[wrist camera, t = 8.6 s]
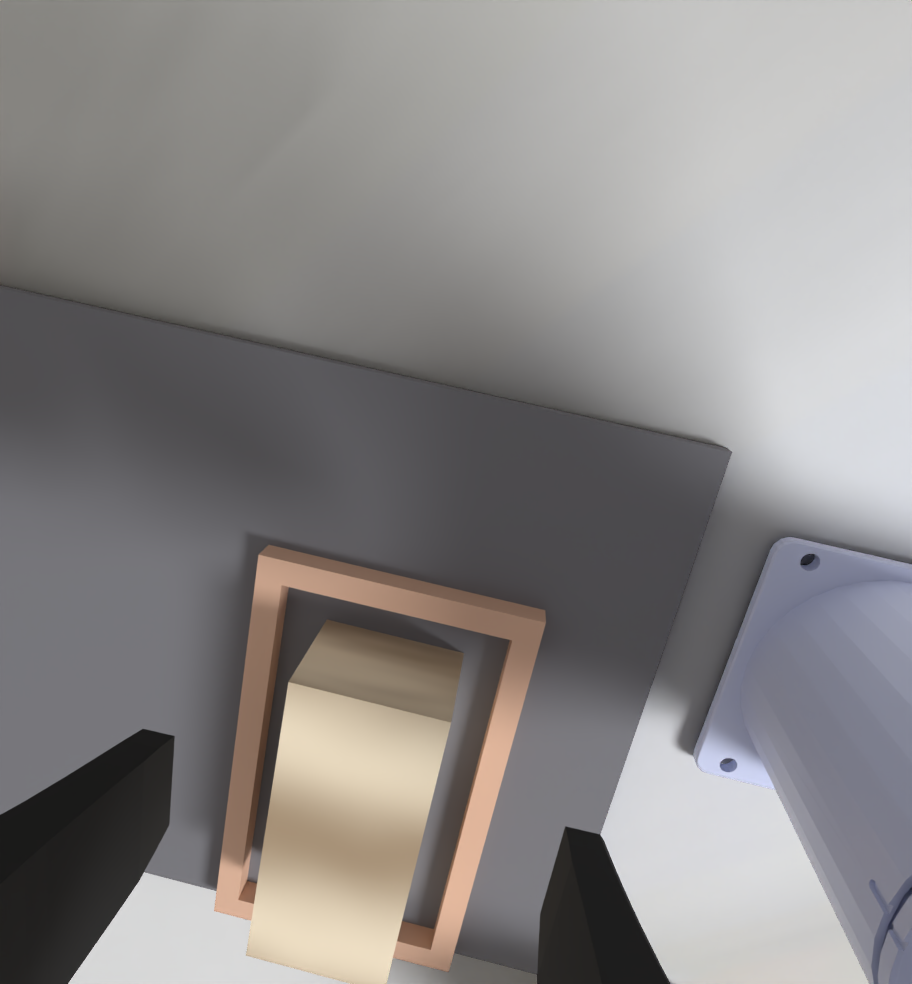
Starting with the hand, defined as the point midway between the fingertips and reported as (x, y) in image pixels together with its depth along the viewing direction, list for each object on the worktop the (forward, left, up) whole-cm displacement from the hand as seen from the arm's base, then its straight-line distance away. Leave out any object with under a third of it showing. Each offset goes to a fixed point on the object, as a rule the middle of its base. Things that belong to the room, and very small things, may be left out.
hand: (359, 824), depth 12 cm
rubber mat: (+5, +4, -9) cm, 11 cm away
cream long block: (+1, +6, -9) cm, 11 cm away
